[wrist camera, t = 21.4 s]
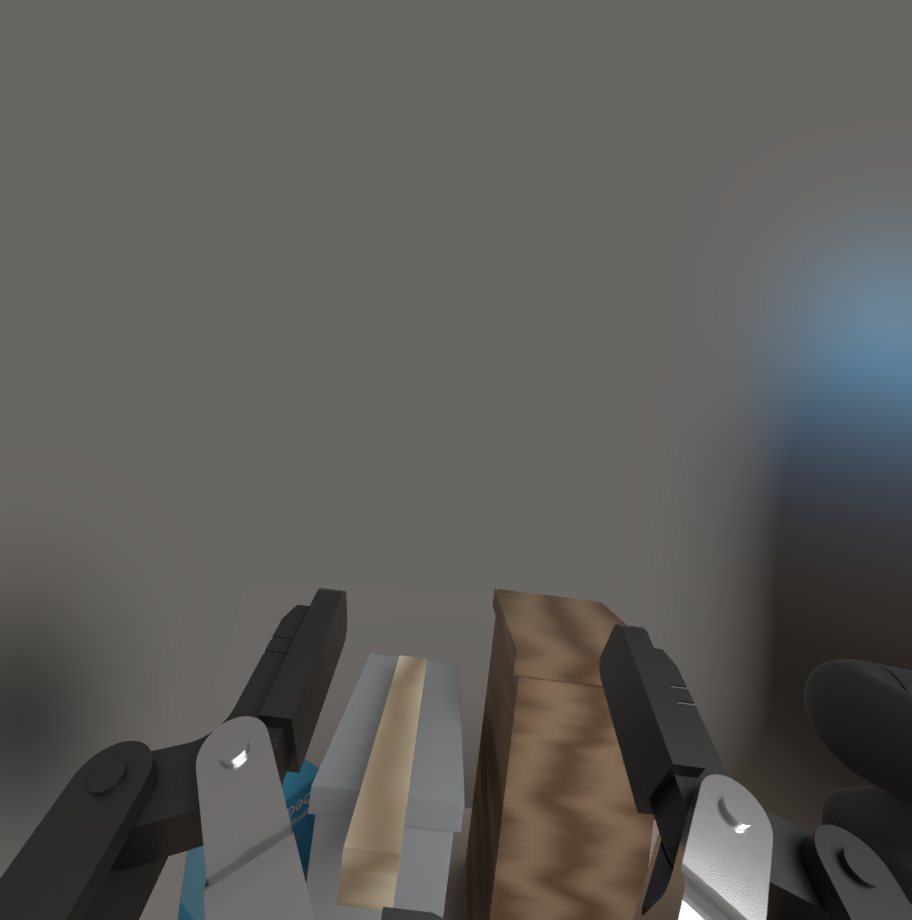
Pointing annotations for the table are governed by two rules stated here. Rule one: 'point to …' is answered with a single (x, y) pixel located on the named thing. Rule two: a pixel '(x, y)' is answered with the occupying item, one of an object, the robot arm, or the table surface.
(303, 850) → the data package
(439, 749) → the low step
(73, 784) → the robot arm
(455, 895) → the table surface
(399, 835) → the birch rod
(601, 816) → the wooden column with lip
